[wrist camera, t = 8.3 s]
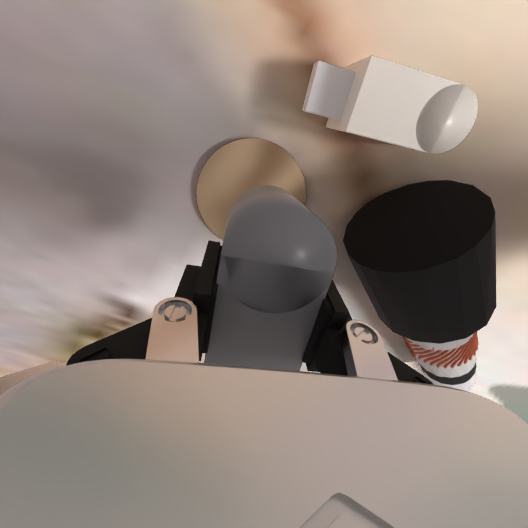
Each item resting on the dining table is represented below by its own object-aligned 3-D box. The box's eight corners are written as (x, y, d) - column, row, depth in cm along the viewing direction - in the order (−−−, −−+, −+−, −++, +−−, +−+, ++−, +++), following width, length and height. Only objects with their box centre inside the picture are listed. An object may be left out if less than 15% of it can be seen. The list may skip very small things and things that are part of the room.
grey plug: (233, 177, 12) (230, 194, 8) (312, 194, 13) (353, 218, 8) (206, 353, 16) (193, 431, 12) (266, 359, 17) (276, 435, 12)
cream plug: (439, 97, 20) (491, 93, 16) (414, 150, 22) (454, 159, 18) (310, 57, 18) (330, 42, 14) (295, 119, 20) (308, 121, 16)
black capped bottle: (412, 352, 44) (417, 416, 38) (347, 202, 25) (337, 280, 19) (487, 355, 38) (507, 430, 32) (475, 164, 20) (518, 258, 14)
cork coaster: (319, 153, 22) (321, 154, 21) (289, 252, 27) (290, 255, 26) (203, 125, 20) (201, 125, 20) (193, 236, 25) (192, 239, 25)
